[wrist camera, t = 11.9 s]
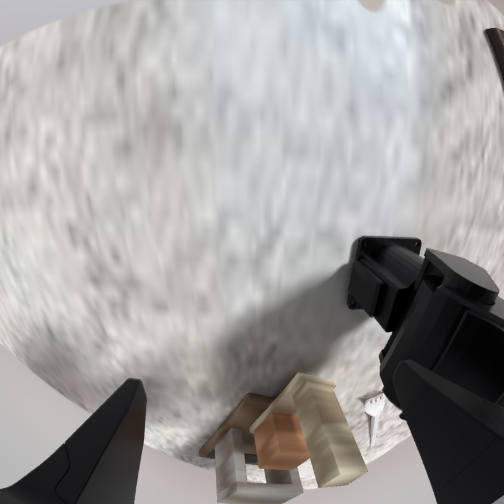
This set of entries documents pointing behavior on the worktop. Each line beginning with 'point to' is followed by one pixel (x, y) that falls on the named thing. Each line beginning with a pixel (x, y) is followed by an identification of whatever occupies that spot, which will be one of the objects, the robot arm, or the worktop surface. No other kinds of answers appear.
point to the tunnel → (246, 460)
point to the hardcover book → (497, 45)
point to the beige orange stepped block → (308, 433)
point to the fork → (374, 413)
